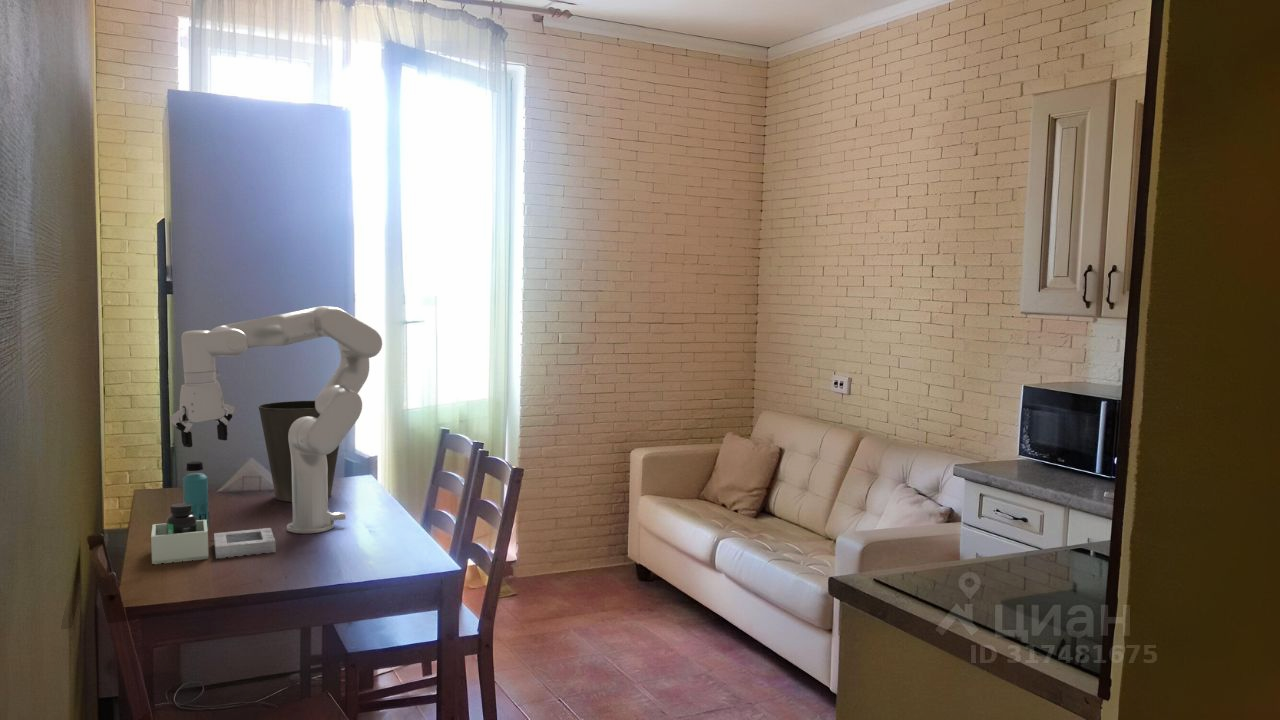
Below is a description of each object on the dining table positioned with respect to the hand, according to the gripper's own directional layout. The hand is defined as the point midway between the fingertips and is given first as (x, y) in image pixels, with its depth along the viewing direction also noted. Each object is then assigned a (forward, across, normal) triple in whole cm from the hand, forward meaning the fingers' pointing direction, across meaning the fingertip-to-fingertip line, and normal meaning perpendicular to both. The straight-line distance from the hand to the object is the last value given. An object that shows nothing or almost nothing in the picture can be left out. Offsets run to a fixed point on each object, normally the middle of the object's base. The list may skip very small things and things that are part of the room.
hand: (205, 443), depth 247 cm
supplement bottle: (+26, +10, +2) cm, 28 cm away
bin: (+27, +10, +2) cm, 29 cm away
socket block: (+28, -3, +10) cm, 29 cm away
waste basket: (+29, -49, -27) cm, 63 cm away
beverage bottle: (+28, -3, -13) cm, 31 cm away
